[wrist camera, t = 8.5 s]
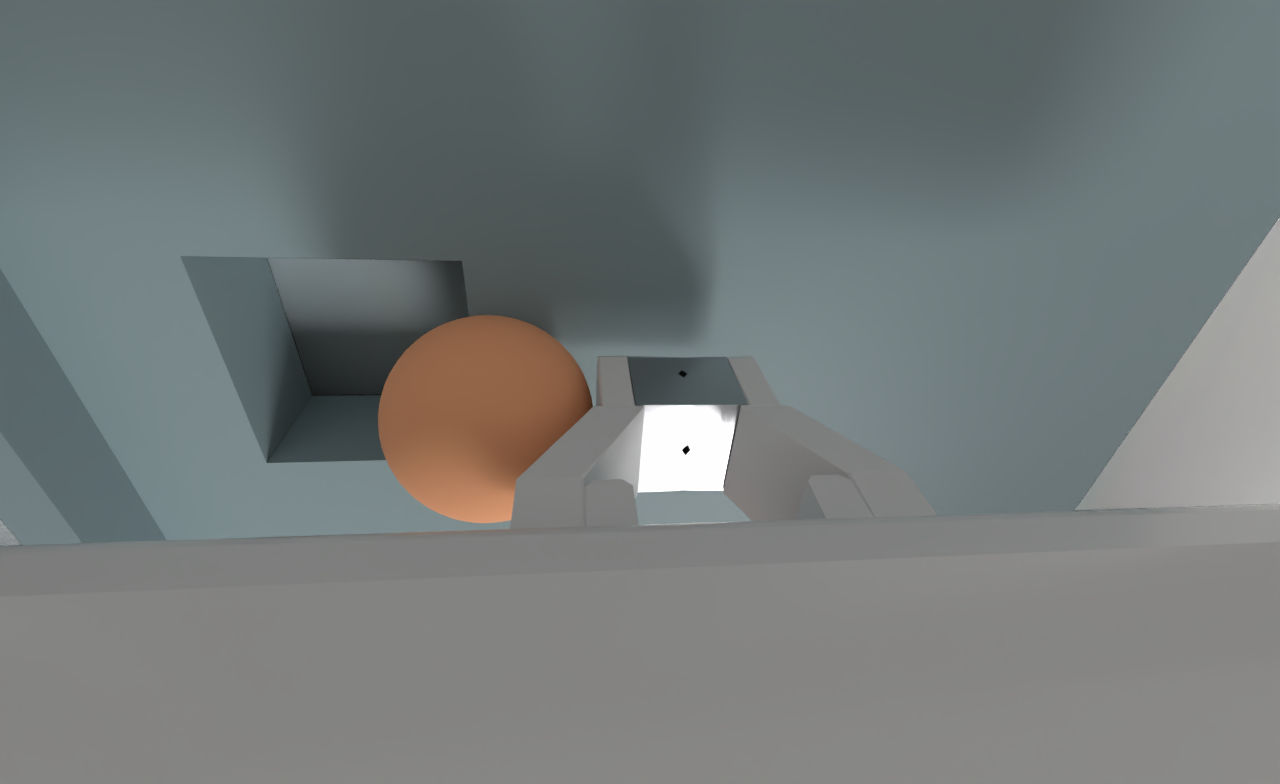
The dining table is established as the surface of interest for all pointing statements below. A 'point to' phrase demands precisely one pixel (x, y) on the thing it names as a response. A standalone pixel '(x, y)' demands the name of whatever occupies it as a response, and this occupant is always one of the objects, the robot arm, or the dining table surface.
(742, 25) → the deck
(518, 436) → the ball
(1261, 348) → the dining table surface
